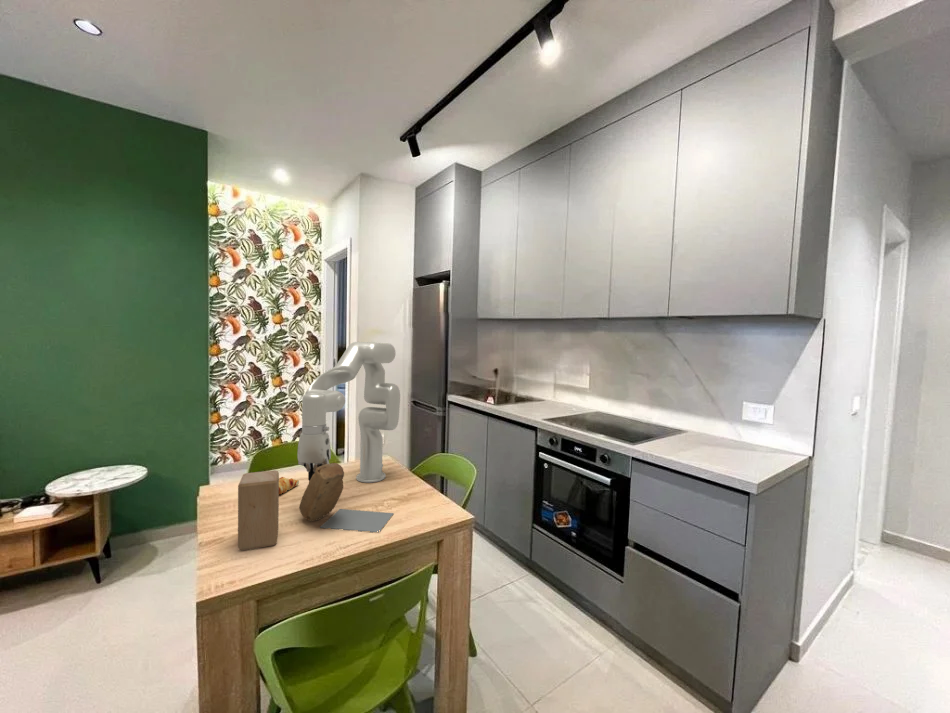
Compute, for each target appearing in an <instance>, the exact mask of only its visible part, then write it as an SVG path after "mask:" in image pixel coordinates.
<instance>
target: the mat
mask: <svg viewBox="0 0 950 713" xmlns="http://www.w3.org/2000/svg"><path fill="white" fill-rule="evenodd" d="M393 515H394V513H393V512H382V511H370V510H357V509H346V508H339V509H337V511H335V513H334V514H333V515H332V516H330V517H329V518H328V519H327V520H326V521H325V522H323V524H321V525H320V526H319V528H320V529H328V528H331V530H339V529H343V530H342V531H350V530H358V531H357V532H362V531H370V532H369V533H373V532H377V531H378V532H379V530H380V532H381V531H382V530H383V529H382V527H383V528H385V526H386V525H387V523H388V522H389V521H388V520H390V519H391V518H392V517H391V516H393ZM390 517H391V518H390ZM387 521H388V522H387ZM385 524H386V525H385ZM384 525H385V526H384ZM381 529H382V530H381Z"/></svg>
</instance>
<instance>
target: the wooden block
mask: <svg viewBox="0 0 950 713" xmlns="http://www.w3.org/2000/svg"><path fill="white" fill-rule="evenodd" d="M279 478H280V474H279V470H274V469H273V470H265V471H255V472H245V473H243V474H242V476H241V479H240V481H239V483H238V485H237V491H238V492H237V548H238V551H241V552H242V551H247V550H253V549H259V548H260V549H261V548H264V547H265V548H266V547H271V546H274V545H276V544H277V542H278V535H279V509H280V508H279V504H280V503H279V502H280V500H279V496H280V495H279Z"/></svg>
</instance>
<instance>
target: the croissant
mask: <svg viewBox="0 0 950 713" xmlns="http://www.w3.org/2000/svg"><path fill="white" fill-rule="evenodd" d="M299 484H300V480H299V479H294V478H293V477H291V478H288V477H287V478H286V477H284V476H281V477H279V494H281V495H283V494H285V493H286V492H288V491H287V490H289V491H290V489H291V490H292V489H293V488H295V486H296V487H297V486H298V485H299ZM282 493H283V494H282Z"/></svg>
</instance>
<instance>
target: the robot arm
mask: <svg viewBox="0 0 950 713" xmlns="http://www.w3.org/2000/svg"><path fill="white" fill-rule="evenodd" d="M396 352H397V351H396V348H395V347H394V345H393V344H392V343H389V342H388V343H383V342H382V343H381V342H375V341H374V342H373V341H354V342H352V343H349V345H348V346H347V348H346V349H345V351H344V352H343V354H342V356H341V357H340V358H339V360H338V362H337V363H336V364H335V365H334V367H332V368H330V369H328V370H326V371H325V372H323V373H321V374H320V375H318V376H317V377H316V378H315V379H314V380H313V381H312V382H311V384H310V385H309V387H308V388H307V390H306V392H305V394H304V395H302V399H301V401H302V402H301V404H302V405H301V411H302V412H301V414H302V415H301V433H300V434H299V440H298V445H297V461H298V465H300V466H302V467H304V468H305V469H306V472H307V473H308V474H307V477H308V478H307V480H308V482H309V481H310V480H311V478H312V476H313V474H314V473H315V470H316V468H318V467H319V466H322V465H325V464H330V460H331V456H332V451H331V441H330V435H329V432H327V431H329V430H330V426H327V423H326V422H327V413H336V412H339V411H340V410H342V409H343V407H345V404H346V397H345V395H344V394H343V393H342V392H341V391H338V390H331V388H333V387H335V386H338V385H342V384H346V383H348V382H350V381H351V382H352V381H353V380H354V379H355V378H356V377H357V375H358V373H359V372H360V370H361V368H362V366H363V368H364V374H365V377H364V387H363V388H364V389H363V390H364V391H363V398H364V401H365V402H366V403H368V404H370V405H371V404H372V405H381V406H382V405H383V406H384V405H385V407H377V406H366V407H363V408H362V409H361V410H360V411H359V413H358V419H357V420H358V425H359V433H360V434H359V436H360V445H359V446H360V451H359V455H360V456H359V460H360V461H359V473H358V474H357V475H356V478H355V479H356V480H357V481H358V482H360V483H366V484H367V483H368V484H371V483H377V482H381V481H383V480H385V479H386V473H385V472H384V471H383V467H384V463H383V445H384V444H383V443H384V439H383V435H382V433H381V430H382V431H393V430H395V429H396V428H397V427H398V425H399V418H400V409H401V408H400V407H401V406H400V405H401V390H400V388H399V386H398V385H397V384H395V383H390V382H389V383H388V382H386V379H385V378H386V371H385V369H384V366H383V364H390V363H392V362H393V361H394V359H395V358H396ZM329 389H330V390H329Z"/></svg>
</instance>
